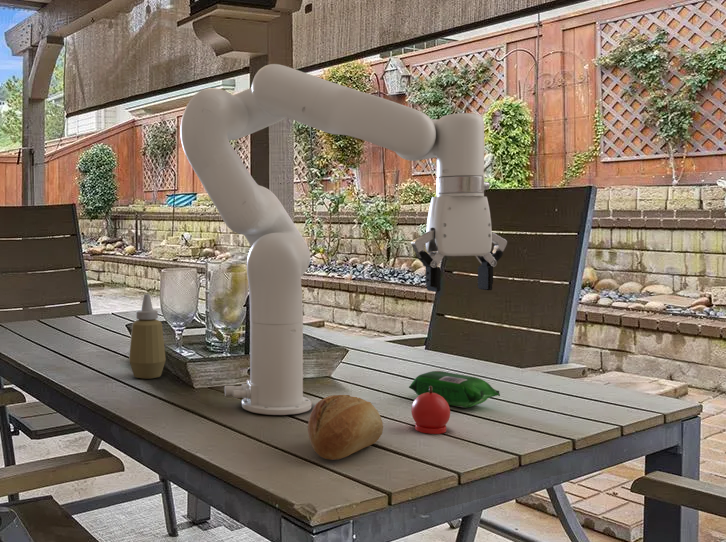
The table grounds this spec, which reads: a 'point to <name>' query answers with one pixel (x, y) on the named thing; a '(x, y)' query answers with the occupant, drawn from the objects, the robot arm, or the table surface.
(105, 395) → the table surface
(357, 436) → the bread roll
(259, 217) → the robot arm
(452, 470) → the table surface
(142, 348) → the squeeze bottle
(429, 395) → the candle
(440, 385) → the snack package
